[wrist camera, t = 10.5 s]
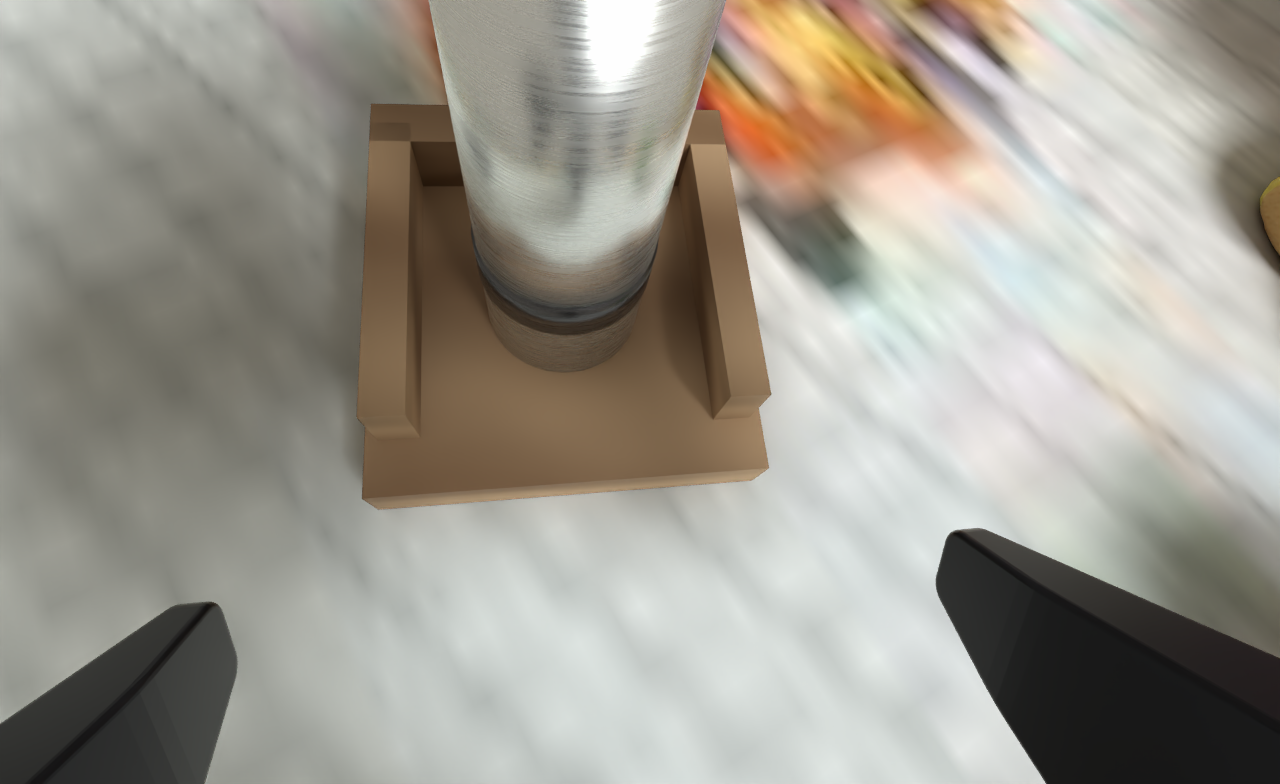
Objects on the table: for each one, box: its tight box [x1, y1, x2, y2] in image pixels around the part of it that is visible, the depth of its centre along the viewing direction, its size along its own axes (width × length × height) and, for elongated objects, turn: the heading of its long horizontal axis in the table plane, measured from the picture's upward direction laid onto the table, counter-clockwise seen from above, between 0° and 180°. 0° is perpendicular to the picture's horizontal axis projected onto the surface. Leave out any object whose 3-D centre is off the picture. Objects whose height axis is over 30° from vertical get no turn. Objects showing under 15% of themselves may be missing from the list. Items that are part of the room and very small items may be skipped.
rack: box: [357, 104, 771, 510], centre depth 17 cm, size 10×10×3 cm
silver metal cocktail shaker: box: [429, 0, 726, 373], centre depth 11 cm, size 4×4×13 cm
